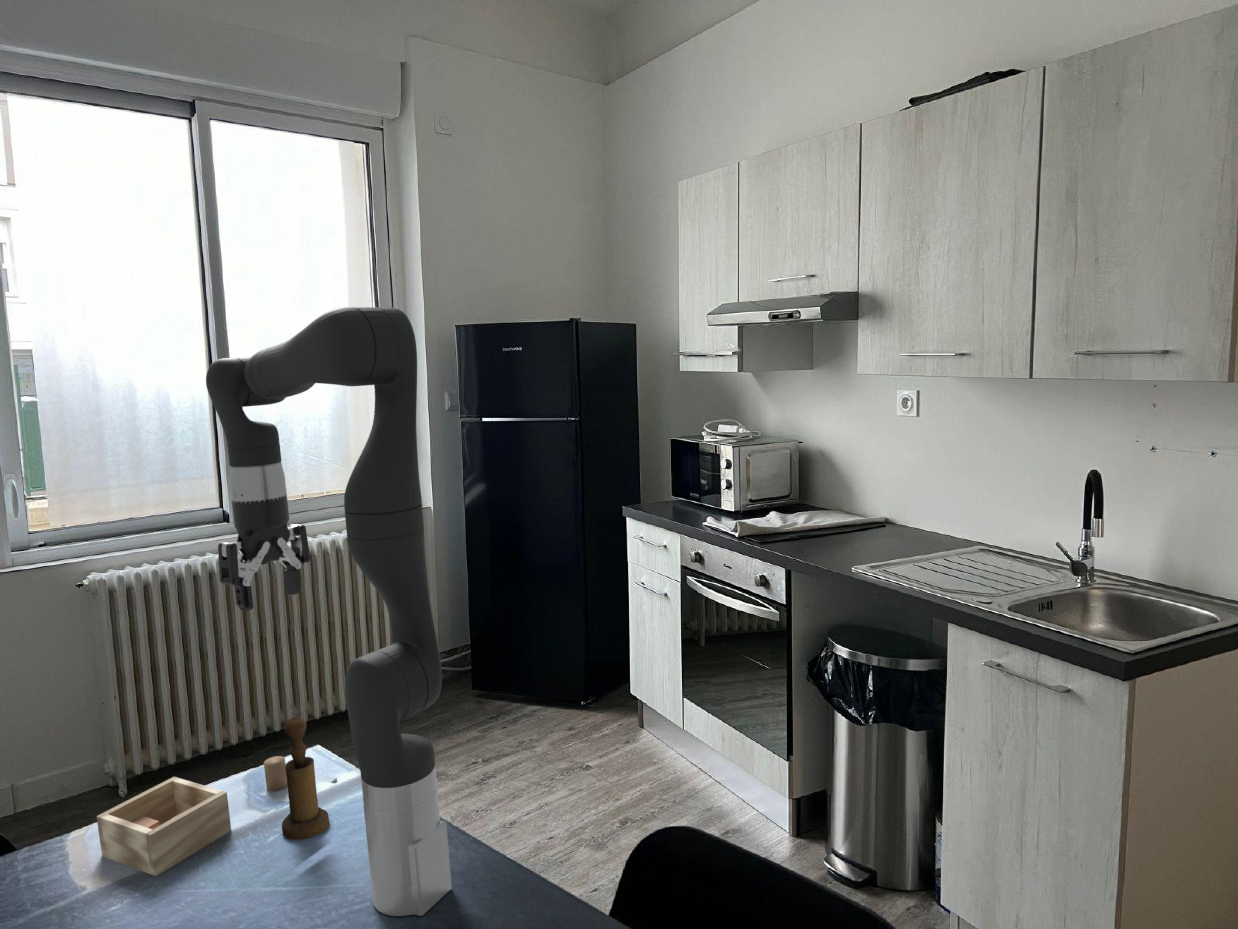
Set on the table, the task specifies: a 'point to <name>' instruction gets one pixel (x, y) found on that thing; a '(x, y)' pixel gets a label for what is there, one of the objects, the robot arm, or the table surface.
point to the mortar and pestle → (301, 789)
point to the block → (147, 822)
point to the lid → (283, 774)
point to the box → (164, 825)
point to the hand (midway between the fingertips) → (270, 601)
